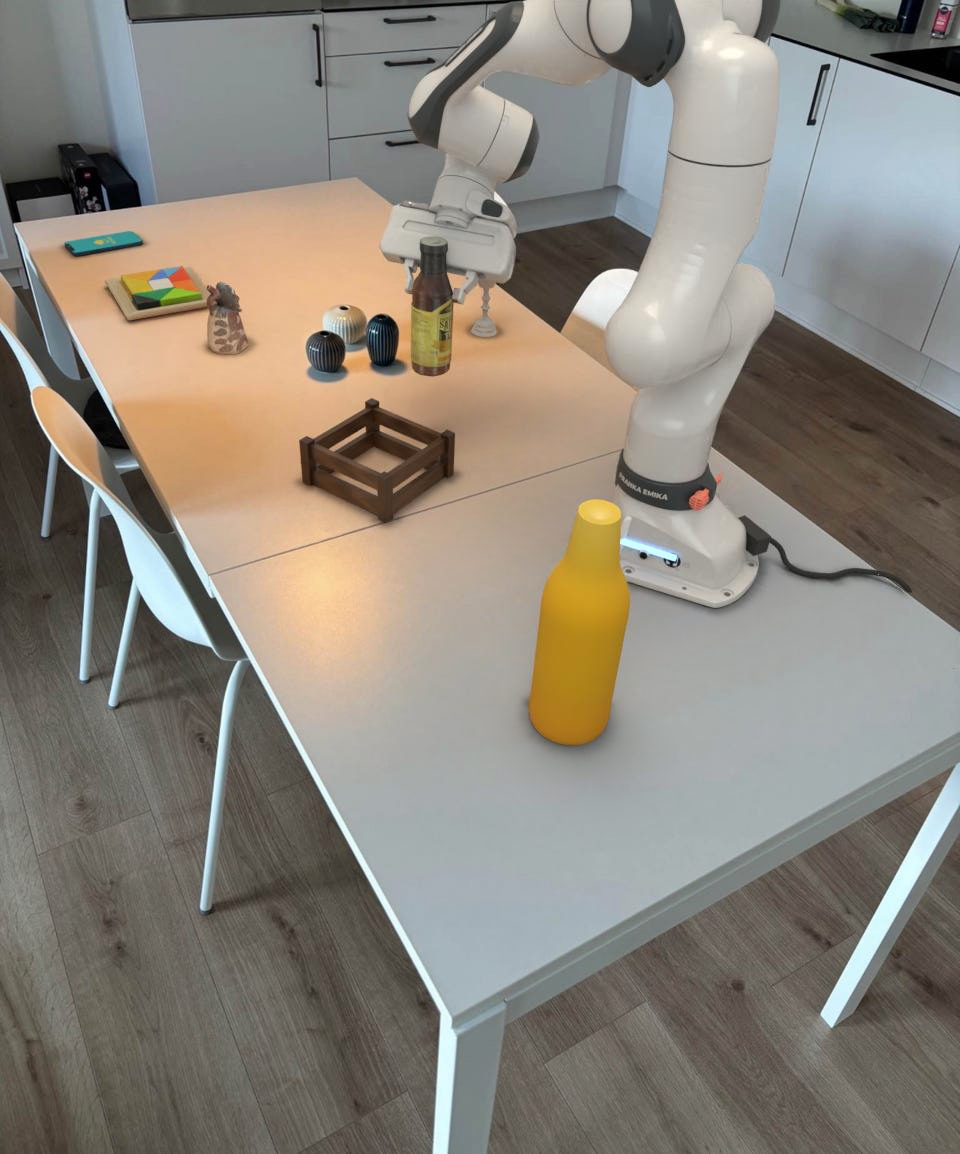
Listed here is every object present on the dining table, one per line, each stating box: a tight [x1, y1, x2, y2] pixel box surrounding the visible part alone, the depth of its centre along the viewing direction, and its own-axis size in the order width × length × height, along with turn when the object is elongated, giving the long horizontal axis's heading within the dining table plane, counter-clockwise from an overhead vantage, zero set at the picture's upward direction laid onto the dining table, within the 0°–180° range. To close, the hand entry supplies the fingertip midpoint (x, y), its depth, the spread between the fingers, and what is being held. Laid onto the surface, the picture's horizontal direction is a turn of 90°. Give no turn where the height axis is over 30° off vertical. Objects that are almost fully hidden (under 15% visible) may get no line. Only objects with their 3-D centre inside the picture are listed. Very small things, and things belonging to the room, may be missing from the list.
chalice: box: [470, 279, 498, 338], centre depth 183 cm, size 7×7×18 cm
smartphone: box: [64, 230, 144, 257], centre depth 212 cm, size 7×1×15 cm
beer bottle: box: [528, 498, 631, 746], centre depth 102 cm, size 9×9×29 cm
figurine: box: [205, 281, 250, 355], centre depth 175 cm, size 7×7×12 cm
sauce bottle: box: [410, 236, 454, 378], centre depth 144 cm, size 6×6×20 cm
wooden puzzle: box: [104, 265, 217, 321], centre depth 192 cm, size 18×19×4 cm
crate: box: [298, 397, 456, 524], centre depth 145 cm, size 16×16×7 cm
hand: (433, 297), depth 144 cm, fingers closed on sauce bottle, 6 cm apart
